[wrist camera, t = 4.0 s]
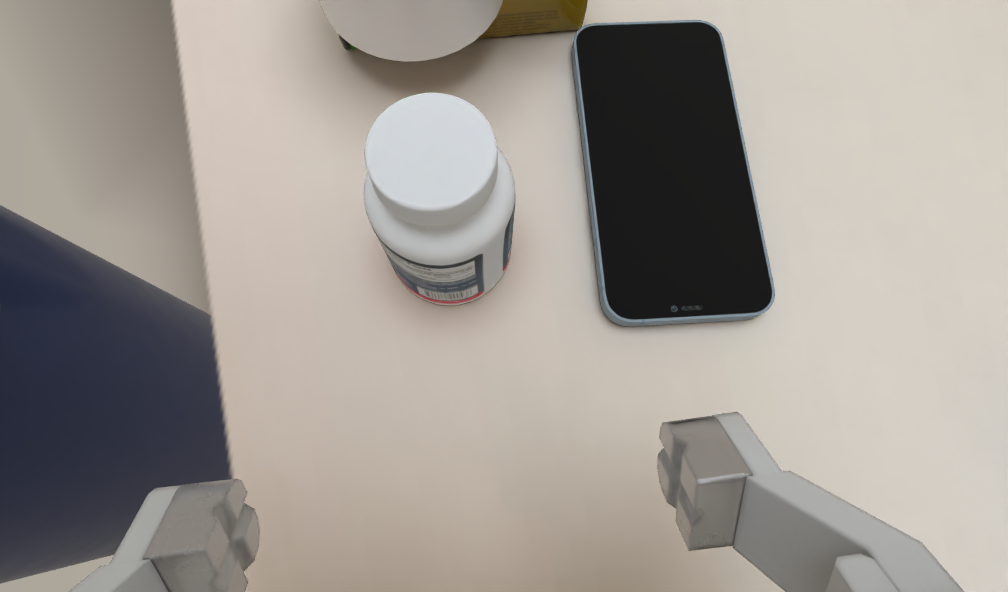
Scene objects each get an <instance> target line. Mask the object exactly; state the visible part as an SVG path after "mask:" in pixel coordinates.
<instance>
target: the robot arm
mask: <svg viewBox="0 0 1008 592" xmlns="http://www.w3.org/2000/svg"><path fill="white" fill-rule="evenodd" d="M659 438H660V440H661V443H662V445H663V447H664V448H663V449H662V450H661V452H660V453H659V454H658V462H657V469H658V476H659V482H660V485H661V489H662V492H663V494H664V496H665V499H666V501H667V503H669V504H670V505H671V506H673V507H674V508H676V509H677V511H676V524H677V526H678V528H679V530H680V532H681V534H682V537H683V539H684V541H685V543H686V545H687V548H688V550H689V551H691V550H700V549H709V548H717V547H726V546H733V548H734V549H735V550H736V551H737V552H739V553H740V554H741V555H742V556H743V557H745V558H746V559H747V560H748V561H749V562H751V563H752V564H753V565H754V566H755V567H757V568H758V569H759V570H760V571H761V572H763V573H764V574H765V575H766V576H767V577H769V578H770V579H771V580H772V581H773V582H775V583H776V584H777V585H778V586H779V587H781V588H782V589H783V590H784V591H785V592H964V591H963V590H962V588H961V587H960V586H959V585H958V584H957V583H956V582H955V580H954V579H953V578H952V577H951V576H950V575H949V573H948V572H947V571H946V570H945V569H944V568H943V567H942V565H941V564H940V563H939V562H938V561H937V560H936V558H935V557H934V556H933V555H932V554H931V553H930V551H929V550H928V549H927V548H926V547H925V546H924V545H923V543H922V542H920V541H918V540H916V539H914V538H912V537H911V536H909V535H907V534H905V533H903V532H901V531H900V530H898V529H896V528H894V527H892V526H890V525H889V524H887V523H885V522H883V521H881V520H879V519H878V518H876V517H874V516H872V515H870V514H868V513H867V512H865V511H863V510H861V509H859V508H857V507H856V506H854V505H852V504H850V503H848V502H846V501H845V500H843V499H841V498H839V497H837V496H835V495H834V494H832V493H830V492H828V491H826V490H824V489H823V488H821V487H819V486H817V485H815V484H813V483H812V482H810V481H808V480H806V479H804V478H802V477H801V476H799V475H797V474H795V473H793V472H791V471H783V472H782V470H781V469H780V467H779V466H778V465H777V463H776V462H775V461H774V459H773V458H772V456H771V455H770V454H769V452H768V451H767V449H766V448H765V447H764V445H763V444H762V442H761V441H760V440H759V438H758V437H757V436H756V434H755V433H754V431H753V430H752V429H751V427H750V426H749V424H748V423H747V422H746V420H745V419H744V417H743V416H742V415H741V414H739V413H738V412H733V413H726V414H719V415H712V416H706V417H699V418H692V419H685V420H678V421H671V422H663V423H662V425H661V427H660V435H659ZM246 495H247V491H246V489H245V486H244V484H243V482H242V480H238V479H231V480H222V481H212V482H203V483H194V484H184V485H181V486H171V487H161V488H155V489H154V490H153V491H151V492H150V493H149V494H148V495H147V497H146V499H145V501H144V502H143V504H142V506H141V508H140V510H139V511H138V513H137V515H136V517H135V519H134V521H133V522H132V524H131V526H130V528H129V530H128V531H127V533H126V535H125V537H124V539H123V540H122V542H121V544H120V546H119V548H118V549H117V551H116V553H115V555H114V557H113V558H112V560H111V562H110V564H109V565H104V566H100V567H98V568H97V569H96V570H95V571H94V572H92V573H91V574H90V575H89V576H87V577H86V578H85V579H84V580H82V581H81V582H80V583H79V584H77V585H76V586H75V587H74V588H72V589H71V590H70V591H69V592H245V590H246V587H247V584H248V581H247V579H246V576H245V574H244V571H245V570H246V569H247V568H248V566H249V565H250V564H251V563H252V562H253V561H254V560H255V557H256V554H257V550H258V547H259V533H260V529H259V523H258V518H257V515H256V512H255V510H254V509H253V508H252V507H250V506H248V505H247V504H245V503H244V501H245V498H246Z"/></svg>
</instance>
